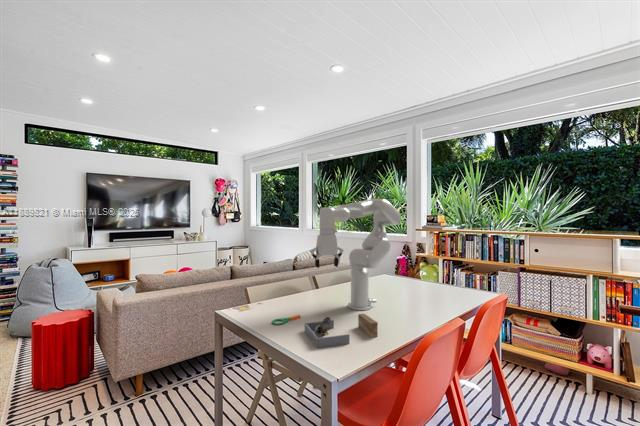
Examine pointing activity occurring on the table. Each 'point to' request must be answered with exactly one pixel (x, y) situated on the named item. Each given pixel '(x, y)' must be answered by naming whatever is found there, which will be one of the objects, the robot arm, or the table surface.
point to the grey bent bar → (325, 340)
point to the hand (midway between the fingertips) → (326, 266)
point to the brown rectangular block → (368, 325)
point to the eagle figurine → (323, 326)
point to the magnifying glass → (285, 320)
